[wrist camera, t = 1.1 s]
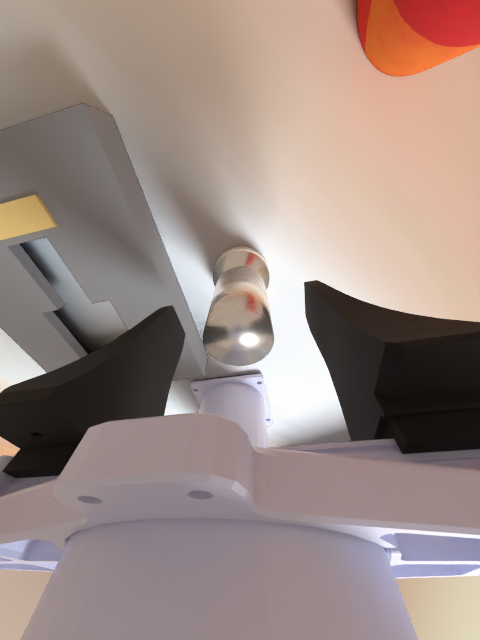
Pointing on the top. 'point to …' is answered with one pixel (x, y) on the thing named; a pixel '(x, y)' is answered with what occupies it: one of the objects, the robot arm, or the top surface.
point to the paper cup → (416, 32)
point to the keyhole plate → (81, 235)
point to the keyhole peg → (239, 309)
